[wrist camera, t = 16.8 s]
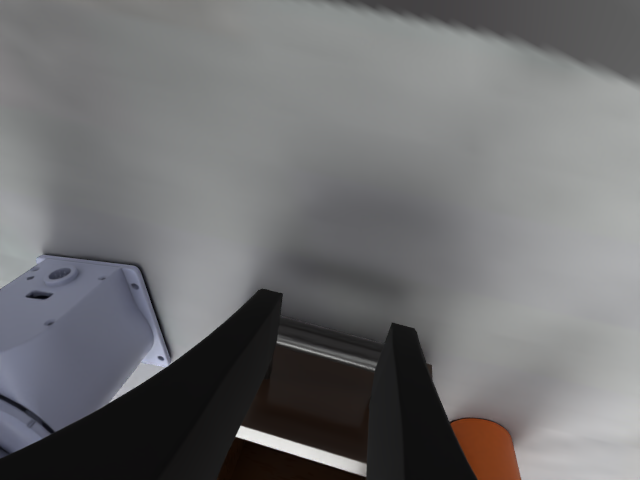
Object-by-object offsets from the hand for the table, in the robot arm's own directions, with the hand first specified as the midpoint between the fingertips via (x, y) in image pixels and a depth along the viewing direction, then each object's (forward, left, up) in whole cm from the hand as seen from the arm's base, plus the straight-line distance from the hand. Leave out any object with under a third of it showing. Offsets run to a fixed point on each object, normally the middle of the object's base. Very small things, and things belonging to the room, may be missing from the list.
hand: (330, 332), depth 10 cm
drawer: (+14, -2, -9) cm, 16 cm away
